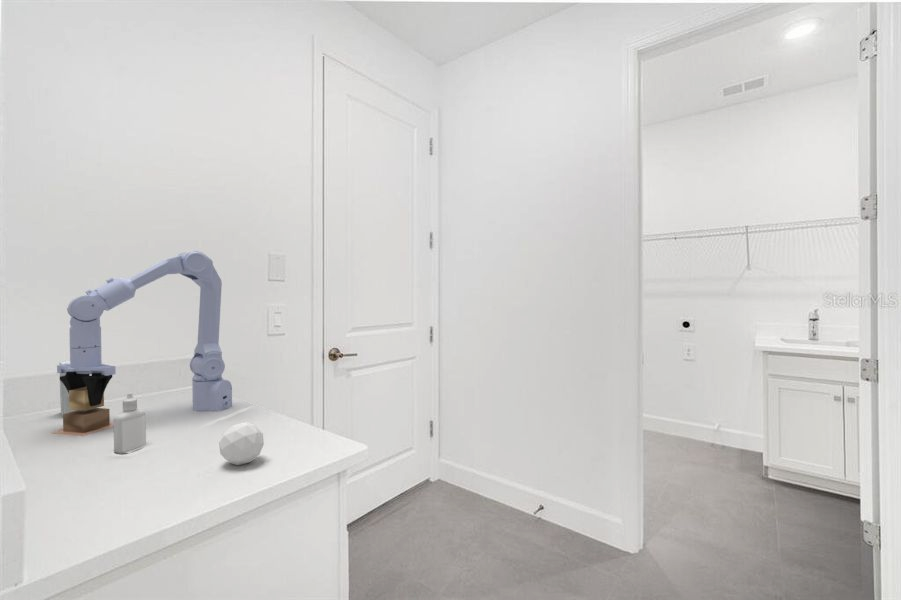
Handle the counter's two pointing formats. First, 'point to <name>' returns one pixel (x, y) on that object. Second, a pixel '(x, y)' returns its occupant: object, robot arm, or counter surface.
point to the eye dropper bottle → (129, 427)
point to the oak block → (81, 400)
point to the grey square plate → (82, 433)
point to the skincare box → (64, 394)
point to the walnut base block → (86, 420)
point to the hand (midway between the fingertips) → (86, 404)
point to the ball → (241, 443)
